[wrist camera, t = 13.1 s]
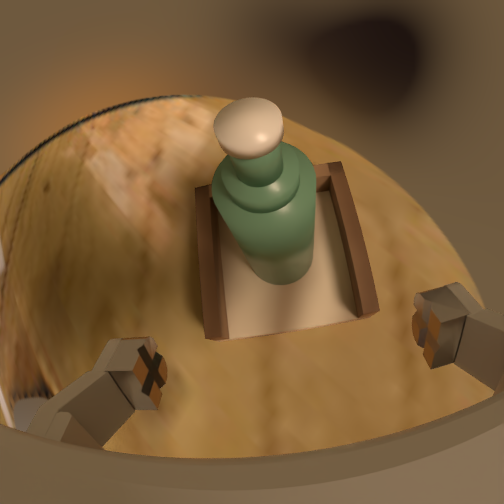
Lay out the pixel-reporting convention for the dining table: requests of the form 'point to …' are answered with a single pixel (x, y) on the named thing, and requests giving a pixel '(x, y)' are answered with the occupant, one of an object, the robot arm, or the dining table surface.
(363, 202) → the dining table surface
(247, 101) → the bottle
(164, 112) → the dining table surface
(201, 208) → the u rest
